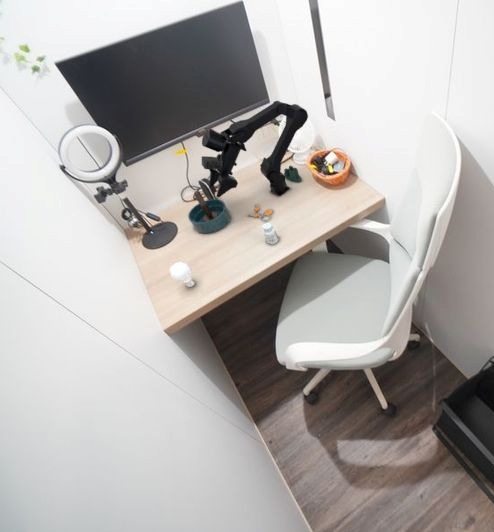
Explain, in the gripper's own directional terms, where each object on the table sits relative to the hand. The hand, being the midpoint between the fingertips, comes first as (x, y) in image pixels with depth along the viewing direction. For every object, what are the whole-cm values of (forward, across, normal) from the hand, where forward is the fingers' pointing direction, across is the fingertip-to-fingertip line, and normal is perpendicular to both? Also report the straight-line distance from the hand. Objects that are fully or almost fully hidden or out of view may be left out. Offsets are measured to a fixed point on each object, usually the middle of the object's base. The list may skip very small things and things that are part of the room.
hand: (214, 191), depth 128 cm
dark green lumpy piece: (-16, -4, +34) cm, 38 cm away
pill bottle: (+2, +28, +16) cm, 32 cm away
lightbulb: (+26, +29, -8) cm, 40 cm away
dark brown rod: (+13, 0, +4) cm, 13 cm away
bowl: (+13, 0, +5) cm, 14 cm away
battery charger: (+9, -13, +9) cm, 18 cm away
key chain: (0, +9, +18) cm, 20 cm away
